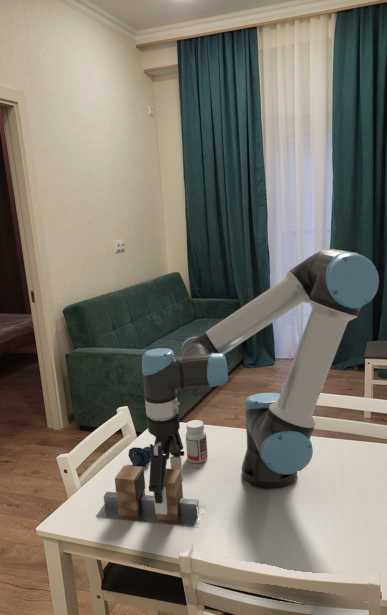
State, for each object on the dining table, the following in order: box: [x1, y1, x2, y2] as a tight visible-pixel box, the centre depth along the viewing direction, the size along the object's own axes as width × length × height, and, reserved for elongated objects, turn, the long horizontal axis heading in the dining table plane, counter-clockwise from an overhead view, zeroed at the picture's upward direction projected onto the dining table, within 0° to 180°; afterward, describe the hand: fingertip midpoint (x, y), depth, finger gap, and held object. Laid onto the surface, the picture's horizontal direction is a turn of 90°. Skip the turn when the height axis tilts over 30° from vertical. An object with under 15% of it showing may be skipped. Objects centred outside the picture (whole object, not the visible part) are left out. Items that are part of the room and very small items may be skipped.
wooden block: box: [114, 465, 146, 517], centre depth 120 cm, size 5×6×10 cm
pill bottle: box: [185, 419, 208, 464], centre depth 144 cm, size 6×6×11 cm
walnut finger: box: [157, 467, 184, 521], centre depth 118 cm, size 5×6×10 cm
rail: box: [95, 491, 207, 529], centre depth 120 cm, size 26×9×4 cm, turn 76°
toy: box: [128, 443, 154, 467], centre depth 146 cm, size 8×7×15 cm
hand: (169, 496), depth 118 cm, fingers open, 13 cm apart
